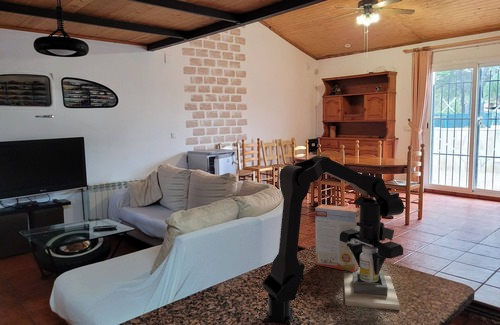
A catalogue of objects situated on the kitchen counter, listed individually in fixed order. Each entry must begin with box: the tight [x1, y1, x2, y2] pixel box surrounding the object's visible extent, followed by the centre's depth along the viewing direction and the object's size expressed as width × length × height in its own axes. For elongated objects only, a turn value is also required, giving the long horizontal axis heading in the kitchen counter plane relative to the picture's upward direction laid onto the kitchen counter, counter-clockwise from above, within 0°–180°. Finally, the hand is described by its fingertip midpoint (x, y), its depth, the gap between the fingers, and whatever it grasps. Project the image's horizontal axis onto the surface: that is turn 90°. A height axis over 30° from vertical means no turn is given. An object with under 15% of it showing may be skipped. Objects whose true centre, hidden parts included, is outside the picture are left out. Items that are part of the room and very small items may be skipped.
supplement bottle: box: [359, 245, 380, 283], centre depth 108 cm, size 5×5×10 cm
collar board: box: [343, 271, 401, 311], centre depth 109 cm, size 18×14×4 cm
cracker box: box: [314, 204, 360, 273], centre depth 128 cm, size 14×6×21 cm, turn 58°
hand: (369, 270), depth 109 cm, fingers closed on supplement bottle, 5 cm apart
